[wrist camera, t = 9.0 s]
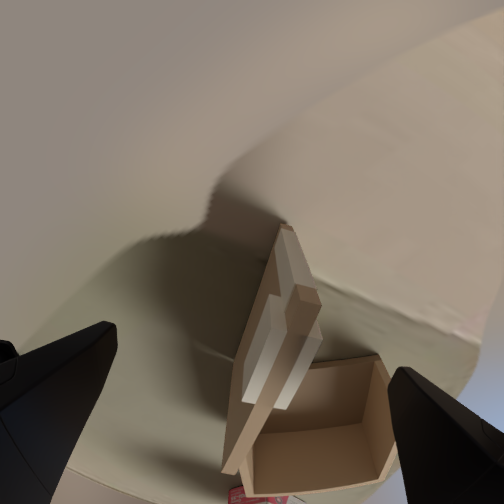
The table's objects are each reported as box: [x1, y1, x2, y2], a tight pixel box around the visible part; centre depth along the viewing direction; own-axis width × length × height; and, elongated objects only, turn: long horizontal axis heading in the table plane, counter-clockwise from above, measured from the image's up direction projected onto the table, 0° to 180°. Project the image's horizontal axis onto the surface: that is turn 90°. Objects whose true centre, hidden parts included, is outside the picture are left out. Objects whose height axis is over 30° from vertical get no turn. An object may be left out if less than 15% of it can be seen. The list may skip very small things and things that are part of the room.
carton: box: [239, 355, 398, 497], centre depth 17 cm, size 9×7×6 cm
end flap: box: [221, 223, 323, 475], centre depth 13 cm, size 9×2×8 cm, turn 164°
